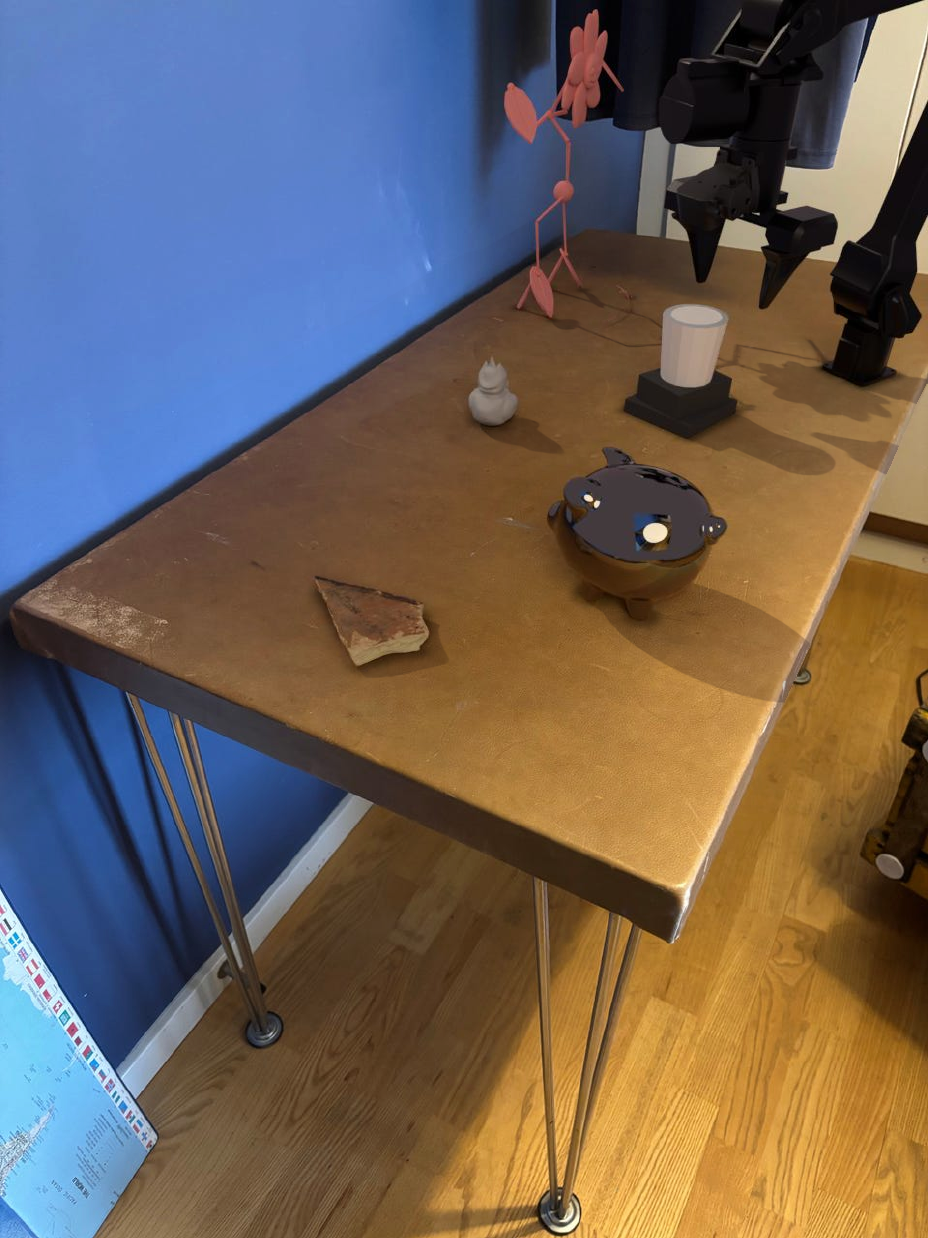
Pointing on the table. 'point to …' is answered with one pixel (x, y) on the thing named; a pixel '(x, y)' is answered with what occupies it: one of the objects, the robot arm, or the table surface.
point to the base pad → (685, 424)
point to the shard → (373, 620)
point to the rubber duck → (492, 396)
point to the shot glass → (691, 343)
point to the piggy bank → (634, 531)
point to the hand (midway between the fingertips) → (731, 295)
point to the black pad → (682, 394)
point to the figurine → (522, 117)
